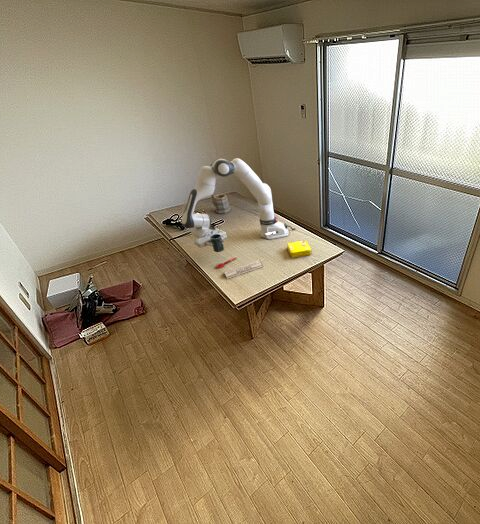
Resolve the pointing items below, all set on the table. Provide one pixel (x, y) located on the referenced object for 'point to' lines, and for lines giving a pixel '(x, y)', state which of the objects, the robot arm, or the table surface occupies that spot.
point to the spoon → (223, 263)
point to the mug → (217, 242)
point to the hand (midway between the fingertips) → (218, 242)
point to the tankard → (220, 203)
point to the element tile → (299, 249)
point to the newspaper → (242, 269)
